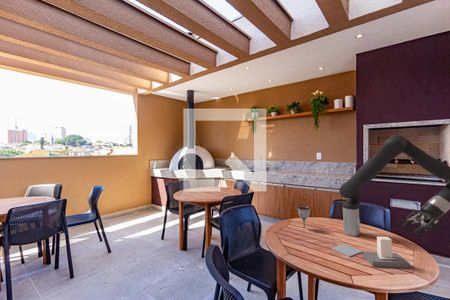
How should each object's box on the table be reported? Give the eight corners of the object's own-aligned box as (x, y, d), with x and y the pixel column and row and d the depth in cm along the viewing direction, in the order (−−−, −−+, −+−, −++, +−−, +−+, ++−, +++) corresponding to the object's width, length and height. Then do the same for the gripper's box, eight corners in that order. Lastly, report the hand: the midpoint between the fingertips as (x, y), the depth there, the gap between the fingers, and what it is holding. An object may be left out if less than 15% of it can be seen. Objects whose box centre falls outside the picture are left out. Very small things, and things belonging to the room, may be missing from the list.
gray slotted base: (396, 257, 112) (396, 251, 112) (409, 268, 103) (409, 261, 103) (362, 256, 115) (362, 250, 115) (372, 266, 105) (372, 259, 105)
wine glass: (309, 227, 159) (309, 206, 159) (310, 231, 152) (309, 209, 151) (298, 226, 162) (297, 206, 162) (298, 230, 154) (297, 209, 154)
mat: (344, 244, 129) (343, 243, 129) (362, 252, 119) (362, 251, 119) (331, 248, 125) (331, 247, 125) (349, 257, 115) (349, 256, 115)
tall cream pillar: (388, 260, 110) (387, 236, 110) (392, 264, 107) (391, 239, 107) (377, 260, 111) (376, 236, 111) (381, 263, 108) (380, 239, 107)
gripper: (418, 198, 112) (395, 220, 114) (441, 205, 98) (413, 230, 100) (430, 208, 112) (406, 230, 113) (455, 217, 98) (427, 242, 99)
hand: (410, 230), depth 107 cm, fingers open, 8 cm apart
